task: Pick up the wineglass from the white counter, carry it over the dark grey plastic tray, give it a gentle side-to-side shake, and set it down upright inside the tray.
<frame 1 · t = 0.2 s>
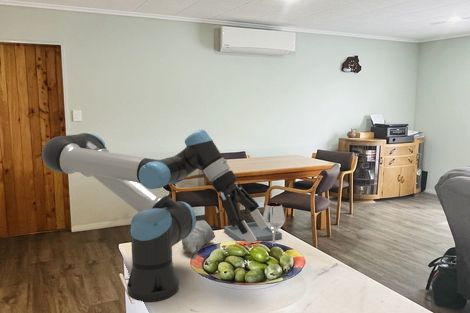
hand: (259, 234, 119), 16 cm above the kitchen island, tool tilted 35°, fingers open, 13 cm apart
wineglass: (273, 251, 148), on the kitchen island
tray: (252, 235, 165), on the kitchen island
grey rock: (198, 249, 151), on the kitchen island
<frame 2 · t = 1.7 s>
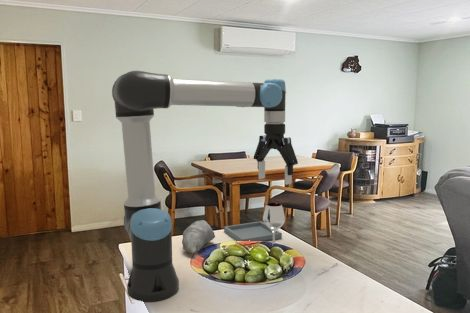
hand: (274, 181, 144), 27 cm above the kitchen island, tool pointing down, fingers open, 13 cm apart
nothing on the kitchen island moved.
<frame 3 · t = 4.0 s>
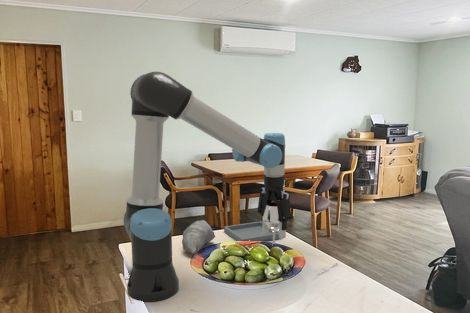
hand: (273, 235, 147), 6 cm above the kitchen island, tool pointing down, fingers closed on wineglass, 8 cm apart
wineglass: (273, 251, 148), on the kitchen island, touching gripper
everything else where it was.
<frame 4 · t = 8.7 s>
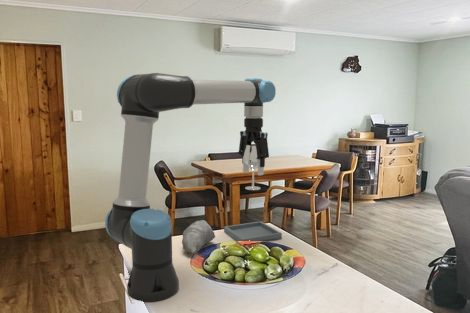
hand: (253, 173, 161), 27 cm above the kitchen island, tool pointing down, fingers closed on wineglass, 8 cm apart
wineglass: (253, 188, 162), point 20 cm above the kitchen island, touching gripper
everything else where it was.
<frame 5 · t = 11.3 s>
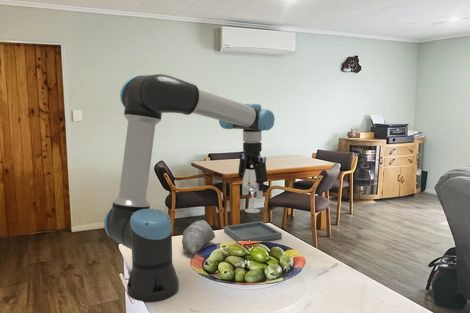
hand: (252, 196, 163), 17 cm above the kitchen island, tool pointing down, fingers closed on wineglass, 8 cm apart
wineglass: (252, 211, 164), point 10 cm above the kitchen island, touching gripper
everything else where it was.
when the fingers open (8 cm above the kitchen island, at t = 13.3 s): wineglass drops 1 cm, resting on tray.
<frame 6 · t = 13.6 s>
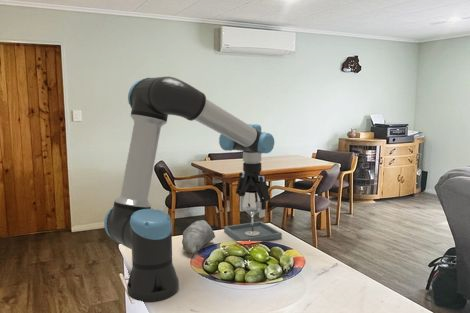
hand: (252, 213, 164), 9 cm above the kitchen island, tool pointing down, fingers open, 11 cm apart
wineglass: (252, 234, 165), point 1 cm above the kitchen island, touching tray
everything else where it was.
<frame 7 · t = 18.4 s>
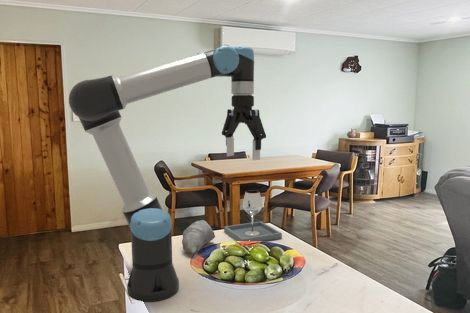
hand: (242, 157, 135), 37 cm above the kitchen island, tool pointing down, fingers open, 13 cm apart
nothing on the kitchen island moved.
at the end: wineglass inside the target area on the tray (0.2 cm from its centre), point 0.6 cm above the tray's base; wineglass tilted 0°; the gripper is holding nothing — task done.
